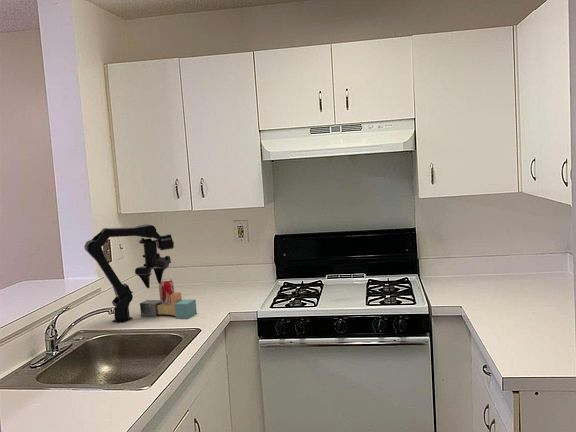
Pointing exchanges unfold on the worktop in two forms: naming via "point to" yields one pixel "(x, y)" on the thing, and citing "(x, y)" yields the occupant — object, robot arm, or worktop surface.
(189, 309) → the socket block
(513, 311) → the worktop surface
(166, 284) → the soda can
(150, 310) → the sleeve
